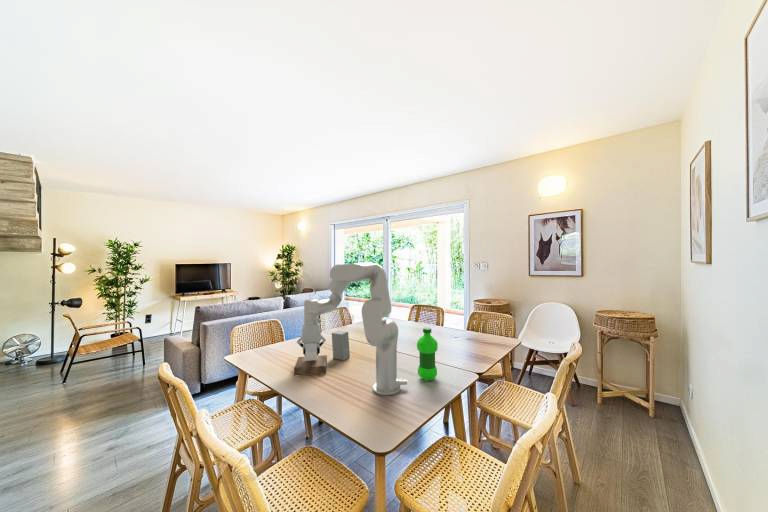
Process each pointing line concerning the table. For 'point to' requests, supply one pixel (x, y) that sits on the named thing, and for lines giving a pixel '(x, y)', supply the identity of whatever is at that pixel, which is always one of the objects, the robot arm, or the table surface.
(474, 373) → the table surface
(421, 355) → the plastic bottle
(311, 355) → the white rectangular block
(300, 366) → the walnut stand
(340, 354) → the skincare box
